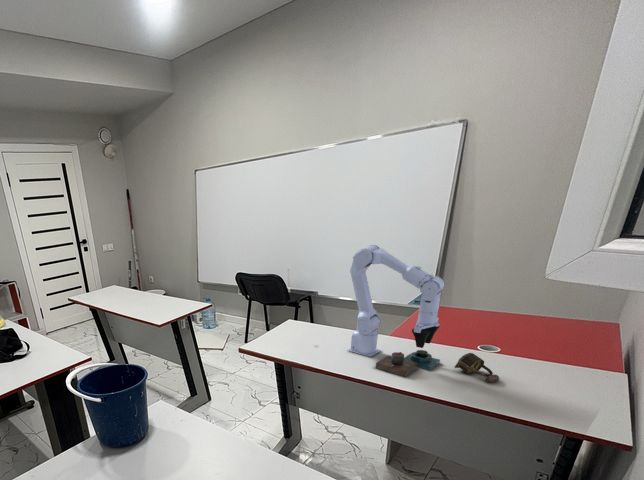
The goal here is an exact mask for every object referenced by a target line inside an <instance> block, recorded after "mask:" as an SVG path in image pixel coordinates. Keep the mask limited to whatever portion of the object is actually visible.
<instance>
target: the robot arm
mask: <svg viewBox="0 0 644 480" xmlns="http://www.w3.org/2000/svg"><path fill="white" fill-rule="evenodd" d="M371 265H384V266H385V267H388V268H390V269H392V270H393V271H395V272H397V273H399V274H401V277H402V279H403V280H404V281H405V282H407V283H409V284H410V285H412V286H414V287H415V288H417V289H418V290H419V291H420V293H421V298H420V303H419V310H418V316H417V320H416V323H415V326H413V328H412V329H411V333H412V334H413V337H414V340H415V346H416V348H420V349H423V348H424V346H425V344H431V342H432V340H433V338H434V336H435V334H436V332H437V331H438V330H439V328H440V325H441V323H439V320H440V319H439V317H438V315H439V309H440V303H441V295H442V292H441V291H443V289H444V288H445V280H444V279H442V278H441V277H440V276H439V275H434V274H433V273H428V272H426V271H425V270H423V269H422V266H420V265H410V266H409V265H408V264H406V263H405V262H403V261H402V260H400V259H399V258H397V257H395V256H394V255H392V254H391V253H390V252H388V251H387V250H386V249H384V248H382V247H380V246H378V245H377V244H372V245H371V244H370V245H368V246H367V247H364V248H360V249H358V250H357V251H356V253H355V254H354V255H353V256H352V263H351V266H350V271H349V273H350V277H351V282H352V286H353V291H354V295H355V300H356V305H357V309H358V315H357V317H356V320H357V324H356V329H355V330H354V331H353V332H352V335H351V338H350V339H351V340H350V349H349V352H351V353H354V354H359V355H363V356H366V357H369V358H370V357H373V356H375V355H376V354H378V353H380V352H381V351H382V350H381V349H378V347H377V345H378V338H379V337H378V336H379V330H378V329H379V328H380V327H381V326H382V319H381V317H380V316H379V314H378V311H377V310H376V309H375V308H374V305H373V301H372V296H371V291H370V287H369V286H370V285H369V281H368V276H367V273H366V272H367V270H369V268H370V267H371Z"/></svg>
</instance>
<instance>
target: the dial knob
mask: <svg viewBox="0 0 644 480" xmlns="http://www.w3.org/2000/svg"><path fill="white" fill-rule="evenodd" d="M391 356H392V357H391V363H392V364H394V365H402V364H403V361H404V358H405V354H404V353H403V352H402V351H399V352H395V351H394V352H392V353H391Z"/></svg>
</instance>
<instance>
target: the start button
mask: <svg viewBox="0 0 644 480" xmlns="http://www.w3.org/2000/svg"><path fill="white" fill-rule="evenodd" d="M415 352H416V356H418V357H427V354H428V353H429V352H428V351H427V350H424V349H418V350H416V351H415Z"/></svg>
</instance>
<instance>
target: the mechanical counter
mask: <svg viewBox="0 0 644 480" xmlns="http://www.w3.org/2000/svg"><path fill="white" fill-rule="evenodd" d="M454 369H461V370H462V371H464V372H465V373H467V374H468V375H471V374H477V375H479V376H481V377H485V380H486V381H487V382H488V383H496V382H497V381H499V380H500V376H499V375H498V374H494V372H493V371H492V370H491V369H490V368H489V366H486V365H485V360H483V358H481V357H480V356H478V355H476V354H475V353H473V352H468V353H465V354H463V355H462V356H461V357H459V358H458V361H457V362H456V364H455V365H454ZM481 369H484V370H486V371H487V372H488V373H484V372H481V371H480V370H481Z"/></svg>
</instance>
